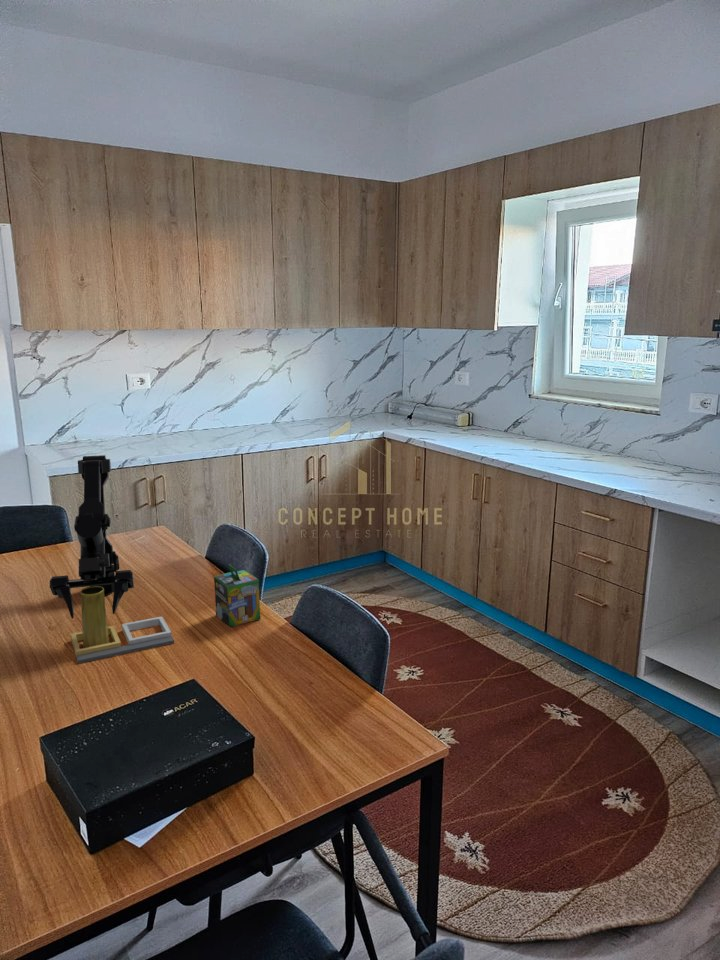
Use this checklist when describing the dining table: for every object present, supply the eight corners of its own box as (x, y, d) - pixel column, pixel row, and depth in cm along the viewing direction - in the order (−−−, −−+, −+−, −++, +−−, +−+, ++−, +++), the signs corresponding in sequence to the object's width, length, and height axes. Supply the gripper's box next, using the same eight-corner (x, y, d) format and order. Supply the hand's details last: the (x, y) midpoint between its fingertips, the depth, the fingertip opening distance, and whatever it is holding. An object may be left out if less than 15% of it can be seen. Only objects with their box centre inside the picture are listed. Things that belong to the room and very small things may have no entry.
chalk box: (261, 620, 180) (260, 567, 177) (228, 628, 175) (226, 574, 172) (246, 607, 188) (244, 556, 184) (214, 615, 183) (212, 563, 179)
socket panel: (77, 663, 157) (77, 656, 157) (71, 640, 168) (70, 633, 167) (174, 643, 167) (173, 636, 167) (162, 622, 178) (162, 616, 177)
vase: (114, 644, 166) (110, 589, 163) (91, 653, 162) (86, 597, 158) (101, 636, 170) (97, 582, 166) (78, 645, 165) (73, 590, 162)
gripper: (46, 545, 161) (44, 608, 153) (130, 538, 166) (132, 599, 159) (54, 564, 170) (52, 624, 163) (132, 558, 175) (134, 615, 168)
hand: (93, 615), depth 163 cm, fingers open, 9 cm apart
